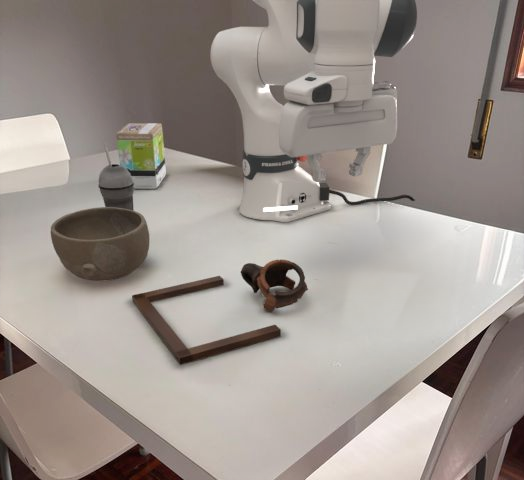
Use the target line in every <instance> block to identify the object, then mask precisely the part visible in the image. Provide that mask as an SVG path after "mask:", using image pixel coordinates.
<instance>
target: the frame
mask: <svg viewBox="0 0 524 480" xmlns="http://www.w3.org/2000/svg"><path fill="white" fill-rule="evenodd" d="M224 283H225V282H224V278H222V276H221V275H216V276H212V277H211V276H210V277H208V278H203V279H198V280H194V281H190V282H185V283H181V284H177V285H172V286H168V287H163V288H158V289H155V290H150V291H145V292H141V293H137V294H133V295H131V300H132V302H133V304H134V306H135V307H136V308H137V309H138V311H139V312H140V313H141V315H142V316H143V317H144V318H145V320H146V321H147V323H148V324H149V325H150V327H151V328H152V329H153V330H154V332H155V333H156V335H157V336H158V337H159V339H160V341H162V343H163V344H164V345H165V347H166V348H167V349H168V351H169V352H170V353H171V355H172V356H173V357H174V358H175V359H174V360H176V361H177V362H178V364H179V365H180V366H181V365H184V364H188V363H191V362H195V361H198V360H202V359H206V358H209V357H212V356H216V355H220V354H223V353H226V352H230V351H232V350H234V351H235V350H237V349H240V348H244V347H248V346H251V345H254V344H258V343H262V342H264V341H269V340H271V339H275V338H278V337H281V333H282V330H281V328H280V327H279V326H277V325H276V324H271V325H268V326H265V327H261V328H257V329H254V330H250V331H247V332H243V333H238V334H236V335H232V336H228V337H224V338H221V339H218V340H213V341H211V342H207V343H203V344H199V345H196V346H193V347H187V345H186V344H185V343H184V342H183V341H182V340H181V338H180V337H179V336H178V334H177V333H176V332H175V331H174V330H173V328H172V327H171V326H170V325H169V323H168V322H167V321H166V319H165V318H164V317H163V316H162V314H161V313H160V312H159V311H158V310H157V308H156V307H155V306H154V305H153V303H152V302H157V301H161V300H165V299H170V298H175V297H179V296H183V295H187V294H192V293H196V292H201V291H204V290H208V289H212V288H213V289H214V288H217V287H222V286H224Z"/></svg>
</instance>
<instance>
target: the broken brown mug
mask: <svg viewBox="0 0 524 480" xmlns="http://www.w3.org/2000/svg"><path fill="white" fill-rule="evenodd" d="M292 270H294V271H295V272H296V274H297V275H298V277H299V281H298V284H297V285H296V283H297V282H296V280H294V279H292V278H291V277H289V276H288V275H287V274H288V272H289V271H292ZM240 276H241V278H242V279H243V280H244V281H245V283H246V284H247V285H249V286H250V287H251V289H252V292H253V294H257V293H258V292H259V291H260V293H261V295H262V296H263V297H264V298H265V299H264V302H263V304H262V306H263V309H264V310H266V311H267V312H269V313H272V312H273V311H275V309H282V308H285V307H288V306H291V305H294V304H296V303H298V301H299V300H301V299H302V298H303V297H304V295H305V292H307V291H308V290H309V287H308V285H307V283H306V281H305V279H306V276H305V273H304V271H303V269H302V268H301V266H299V264H297V263H295V262H294V261H291V260H287V259H275V260H273V259H272V260H271V261H269V262H267V263H266V264H265V265H264V266H261V265H258V264H257V263H253V262H248V263H245V264H244V265H243V266H242V267H241V270H240ZM276 287H282V288H285V289H288V290H285V291H281V290H276V289H275V290H274V291H275V294H274V293H272V292H270V289H271V288H276Z"/></svg>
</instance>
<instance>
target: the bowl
mask: <svg viewBox="0 0 524 480" xmlns="http://www.w3.org/2000/svg"><path fill="white" fill-rule="evenodd" d="M50 238H51V243H52V246H53V249H54V251H55V254H56V255H57V257H58V259H59V261H60V263H61V265H62V266H63V267H64V268H65V269H66V270H67V271H68V272H69V273H70V274H72V275H74V276H76V277H77V278H79V279H82V280H85V281H91V282H103V281H114V280H117V279H122V278H125V277H128V276H129V275H131V274H133V273H134V272H135V271H137V270H138V269H139V268H141V266H142V265H143V264H144V263H145V261H146V258H147V256H148V253H149V251H150V231H149V228H148V222H147V219H146V218H145V215H143V214H141V213H140V212H138V211H136V210H134V211H133V210H129V209H124V208H117V207H105V206H101V207H100V206H99V207H93V208H85V209H80V210H76V211H73V212H71V213H68V214H65V215H62V216H61V217H59V218H58V219H56V220H55V221H54V222H53V223H52V224H51V226H50Z"/></svg>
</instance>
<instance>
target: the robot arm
mask: <svg viewBox="0 0 524 480" xmlns="http://www.w3.org/2000/svg"><path fill="white" fill-rule="evenodd" d="M251 1H252V2H253V3H255V4H256V5H257V6H259V7H261V8H262V9H264V10H265V11H266V13H267V18H268V26H236V27H232V28H228V29H224V30H221V31H218V32H217V34H216V35H215V36H214V38H213V41H212V42H211V46H210V54H209V55H210V56H209V57H210V63H211V67H212V69H213V70H214V73H215V74H216V76H217V77H218V78H219V79H220V80H221V81H222V82H223V83H224V84H225V85H226V86H227V87H228V88H229V90H230V91H231V93H232V94H233V96H234V98H235V100H236V102H237V104H238V107H239V110H240V114H241V122H242V131H243V148H244V149H243V150H242V175H243V186H242V187H243V189H242V196H241V201H240V205H239V209H238V212H239V214H240V215H242V216H244V217H246V218H249V219H254V220H262V221H276V222H282V223H290V222H293V221H296V220H300V219H302V218H307V217H309V216H312V215H316V214H320V213H323V212H326V211H330V210H331V204H330V202H329V201H330V194H331V195H336V196H339V197H340V198H341V199H343V201H344V203H345V204H346V205H350V206H357V205H363V204H366V203H367V204H368V203H377V202H391V201H392V202H393V201H398V200H403V199H409V201H412V202H415V201H416V199H415V198H414V197H413V196H412V195H409V194H401V195H400V194H399V195H397V196H392V197H376V198H375V197H374V198H365V199H362V200H357V201H351V200H349V199H348V197H347V196H346V194H344V193H342V192H339V191H337V190H333V189H332V190H331V189H330V186H329V184H328V183H327V182H325V181H326V179H327V170H326V169H323V168H322V167H321V165H320V163H319V161H322V155H323V154H327V153H333V152H334V153H335V152H341V151H350V150H355V152H356V153H357V154H356V155H355V158H354V160H353V162H350V163H349V166H348V168H349V170H348V174H349V175H350V176H352V177H357V176H359V177H360V176H362V175H363V171H364V170H363V169H364V165H365V163H366V162H367V160H368V158H369V156H370V154H371V148H372V147H377V146H383V145H391V144H392V143H393V142H394V141H395V139H396V137H397V133H398V107H397V101H398V100H397V99H398V89H396V86H395V85H394V84H392V82H391V81H388V80H385V81H381V82H380V81H379V82H377V81H374V79H375V77H374V76H375V67H376V57H383V58H384V57H385V58H393V57H395V56H396V55H397V54H398V53H400V52H401V51H402V50H403V49H404V48H405V47H406V46H407V45H408V44H409V42H410V41H411V40H412V39H413V37H414V35H415V32H416V29H417V24H418V23H417V22H418V8H417V2H416V0H251ZM270 86H280V87H281V86H283V97H284V99H285V100H288V101H287V102H285V104H284V105H283V104H282V103H280V102H278V101H277V100H276V99H275V97H274V95H273V94H272V92H271V90H270ZM306 161H307V163H308V164H309V166H310V168H311V170H312V174H310V173H309V172H307V171H306V170H305V169H304V168H302V167H301V166H300V164H299V162H301V163H305V162H306Z"/></svg>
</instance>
